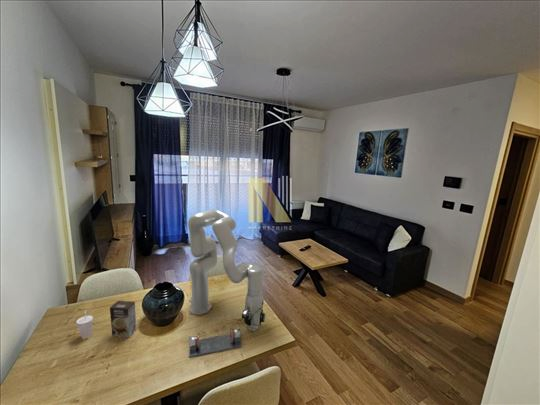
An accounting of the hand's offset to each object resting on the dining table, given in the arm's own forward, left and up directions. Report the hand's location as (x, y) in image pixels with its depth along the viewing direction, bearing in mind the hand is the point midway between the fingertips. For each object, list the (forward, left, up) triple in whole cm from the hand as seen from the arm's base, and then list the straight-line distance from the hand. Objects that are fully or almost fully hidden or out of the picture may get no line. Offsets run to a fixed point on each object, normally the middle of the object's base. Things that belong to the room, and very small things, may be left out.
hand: (253, 319), depth 127 cm
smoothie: (-63, -53, -6) cm, 83 cm away
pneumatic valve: (0, 0, -6) cm, 6 cm away
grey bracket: (-8, -20, -5) cm, 22 cm away
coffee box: (-51, -41, -6) cm, 66 cm away
